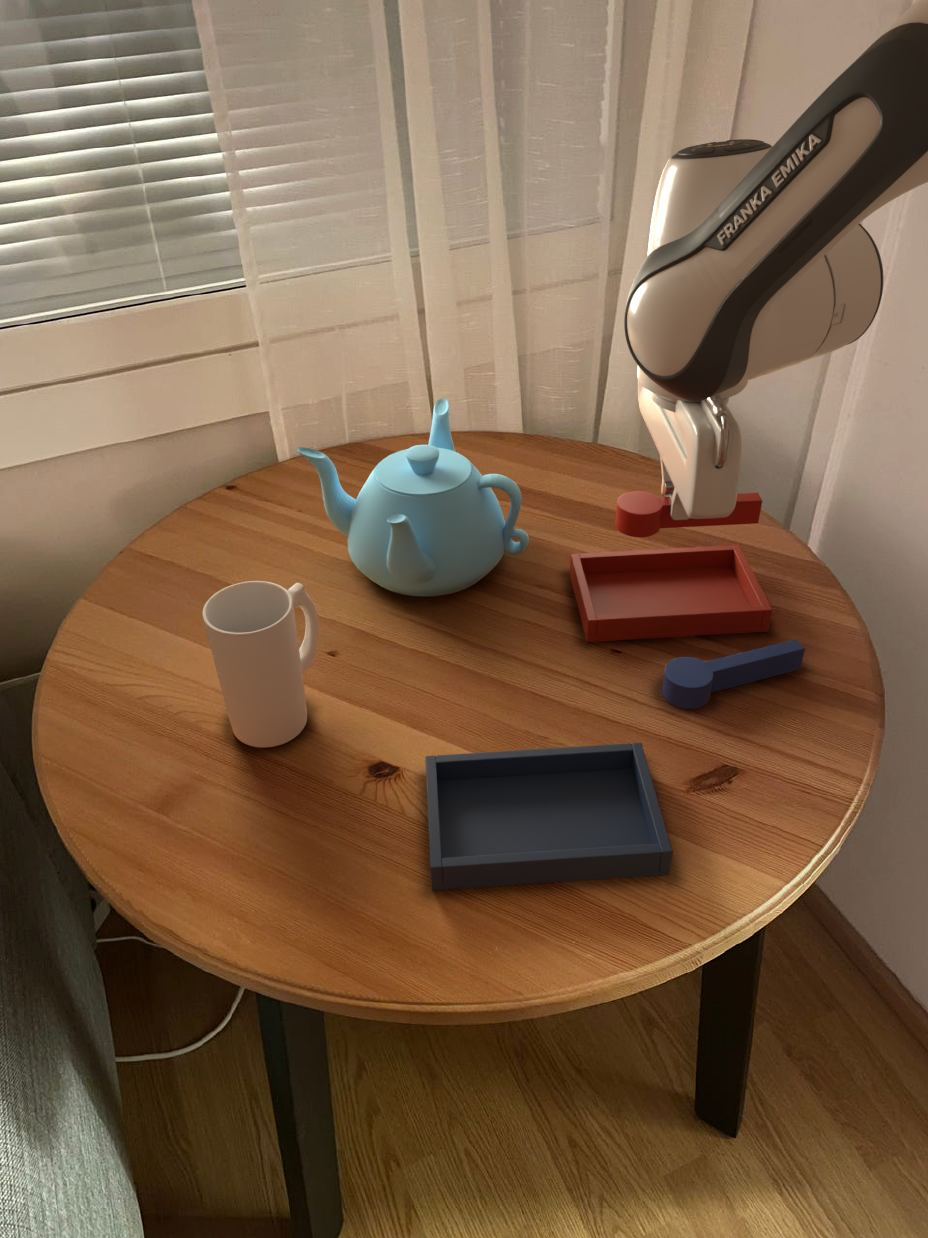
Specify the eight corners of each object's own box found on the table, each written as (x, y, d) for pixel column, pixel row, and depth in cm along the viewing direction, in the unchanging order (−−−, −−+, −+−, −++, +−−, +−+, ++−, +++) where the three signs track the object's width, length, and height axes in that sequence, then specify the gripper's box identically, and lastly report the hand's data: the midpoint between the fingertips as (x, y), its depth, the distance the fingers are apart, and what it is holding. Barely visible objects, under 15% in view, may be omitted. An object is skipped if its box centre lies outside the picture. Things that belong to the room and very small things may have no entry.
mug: (268, 763, 80) (244, 646, 72) (211, 728, 83) (183, 613, 75) (354, 694, 86) (340, 579, 78) (297, 664, 89) (279, 552, 82)
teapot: (303, 554, 103) (288, 447, 95) (447, 493, 112) (443, 391, 104) (401, 634, 92) (392, 520, 85) (551, 559, 101) (555, 450, 94)
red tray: (735, 565, 100) (739, 544, 98) (768, 631, 91) (772, 609, 90) (569, 574, 99) (570, 553, 97) (586, 642, 91) (588, 620, 89)
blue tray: (638, 765, 78) (641, 742, 77) (669, 875, 70) (673, 851, 69) (426, 778, 78) (425, 755, 76) (432, 891, 69) (430, 868, 68)
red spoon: (749, 507, 92) (753, 484, 90) (762, 531, 88) (767, 508, 87) (611, 514, 91) (613, 491, 90) (619, 538, 88) (621, 515, 86)
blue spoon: (782, 651, 89) (787, 629, 87) (808, 679, 86) (814, 657, 84) (653, 684, 86) (656, 662, 84) (676, 714, 83) (679, 692, 81)
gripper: (773, 415, 72) (744, 572, 81) (701, 310, 88) (684, 450, 97) (686, 419, 72) (666, 577, 80) (630, 313, 88) (619, 454, 96)
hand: (675, 507), depth 89 cm, fingers closed on red spoon, 1 cm apart
